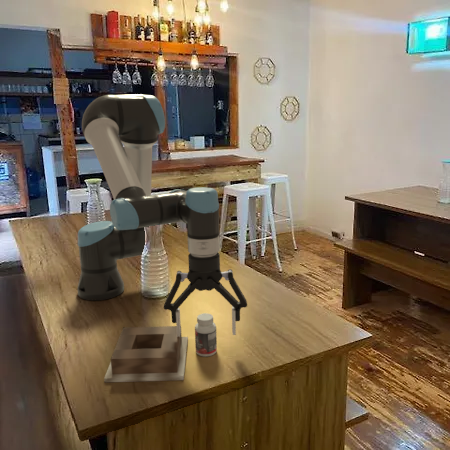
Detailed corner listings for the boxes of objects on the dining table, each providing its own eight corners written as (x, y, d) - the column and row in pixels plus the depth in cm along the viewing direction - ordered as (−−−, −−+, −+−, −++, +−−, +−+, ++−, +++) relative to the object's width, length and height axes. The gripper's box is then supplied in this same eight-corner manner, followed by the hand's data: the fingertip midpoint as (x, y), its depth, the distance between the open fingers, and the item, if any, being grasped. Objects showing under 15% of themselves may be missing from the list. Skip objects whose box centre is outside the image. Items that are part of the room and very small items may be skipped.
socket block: (104, 382, 103) (102, 362, 102) (120, 341, 120) (118, 324, 119) (183, 380, 103) (182, 360, 102) (187, 340, 121) (187, 323, 119)
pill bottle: (191, 352, 115) (189, 317, 112) (205, 343, 119) (204, 309, 116) (206, 359, 111) (205, 323, 109) (221, 350, 115) (220, 315, 113)
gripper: (149, 259, 104) (154, 342, 109) (257, 256, 105) (257, 339, 110) (153, 249, 112) (158, 327, 117) (254, 246, 112) (255, 324, 117)
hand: (206, 333), depth 113 cm, fingers open, 13 cm apart
